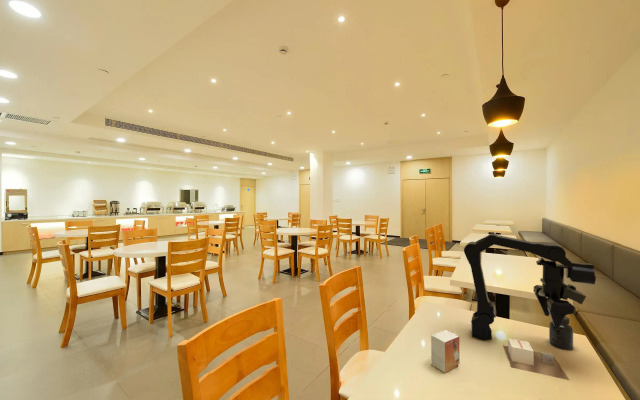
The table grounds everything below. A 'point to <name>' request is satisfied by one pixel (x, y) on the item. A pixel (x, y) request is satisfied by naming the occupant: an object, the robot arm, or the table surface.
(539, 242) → the robot arm
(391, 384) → the table surface
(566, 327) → the supplement bottle
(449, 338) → the small box
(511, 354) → the white carton
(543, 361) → the upright wooden block
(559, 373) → the base plate
